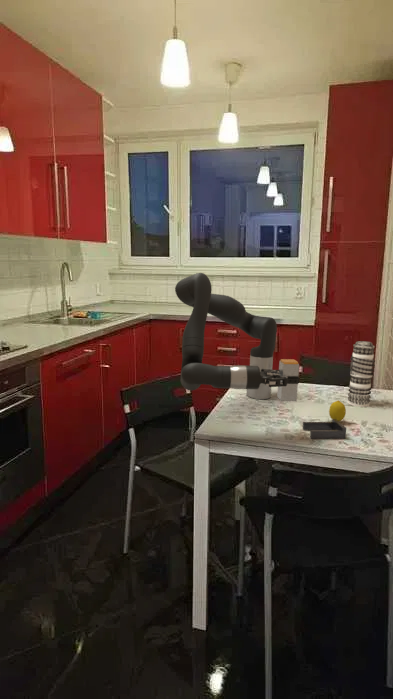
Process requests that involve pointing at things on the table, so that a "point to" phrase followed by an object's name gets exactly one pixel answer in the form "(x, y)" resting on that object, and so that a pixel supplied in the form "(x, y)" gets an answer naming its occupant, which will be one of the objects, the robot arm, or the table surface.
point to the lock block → (290, 391)
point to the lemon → (337, 410)
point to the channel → (325, 430)
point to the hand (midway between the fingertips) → (296, 377)
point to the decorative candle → (361, 374)
